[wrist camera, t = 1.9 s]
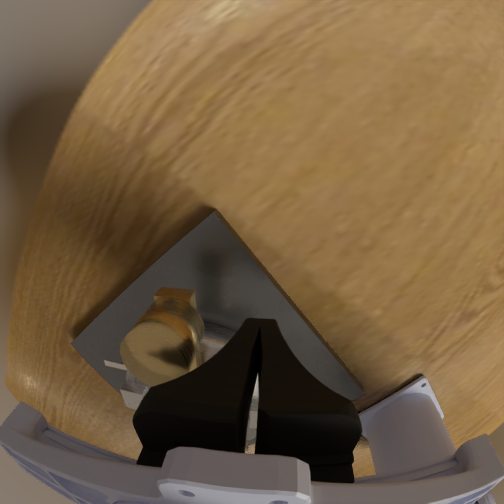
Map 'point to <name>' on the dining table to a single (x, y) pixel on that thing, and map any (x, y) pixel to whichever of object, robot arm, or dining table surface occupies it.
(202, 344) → the metal round piece
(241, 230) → the dining table surface
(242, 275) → the dark grey square plate
